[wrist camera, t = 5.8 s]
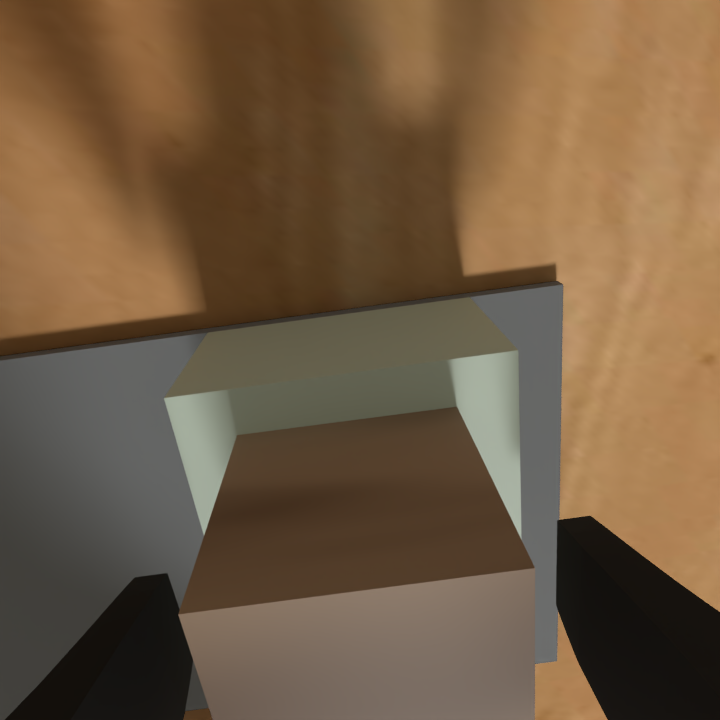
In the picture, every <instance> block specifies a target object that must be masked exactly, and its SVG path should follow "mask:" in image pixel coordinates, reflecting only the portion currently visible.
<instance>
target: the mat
mask: <svg viewBox="0 0 720 720" xmlns="http://www.w3.org/2000/svg"><path fill="white" fill-rule="evenodd" d="M467 297H470V298H471V299H472V300H473V301H474V303H475V304H476V305H477V306H478V307H479V308H480V309H481V310H482V311H483V312H484V313H485V314H486V316H487V317H488V318H489V319H490V320H491V321H492V322H493V323H494V324H495V325H496V326H497V327H498V329H499V330H500V331H501V332H502V333H503V334H504V335H505V336H506V337H507V338H508V339H509V341H510V342H511V343H512V344H513V345H514V346H515V347H516V348H517V349H518V357H519V418H520V478H521V539H522V542H523V544H524V546H525V548H526V550H527V552H528V554H529V556H530V558H531V560H532V563H533V565H534V567H535V664H538V663H546V662H553V661H557V627H558V609H557V606H556V564H557V520H559V505H560V444H561V383H562V321H563V284H561V283H560V282H558V281H554V282H546V283H539V284H532V285H524V286H517V287H509V288H502V289H495V290H487V291H480V292H472V293H465V294H458V295H450V296H443V297H435V298H428V299H421V300H413V301H406V302H398V303H391V304H384V305H376V306H369V307H361V308H354V309H347V310H339V311H332V312H324V313H317V314H310V315H302V316H295V317H288V318H280V319H273V320H265V321H258V322H251V323H243V324H236V325H228V326H221V327H214V328H206V329H199V330H191V331H184V332H177V333H169V334H162V335H154V336H147V337H140V338H132V339H125V340H117V341H110V342H103V343H95V344H88V345H80V346H73V347H66V348H58V349H51V350H43V351H36V352H29V353H21V354H14V355H7V356H0V720H5V719H6V718H7V717H8V716H9V715H10V714H11V713H12V712H13V711H14V710H15V709H16V708H17V706H18V705H19V704H20V703H21V702H22V701H23V700H24V699H25V698H26V697H27V696H28V695H29V694H30V693H31V692H32V691H33V690H34V689H35V688H36V687H37V686H38V685H39V684H40V682H41V681H42V680H43V679H44V678H45V677H46V676H47V675H48V674H49V673H50V671H51V670H52V669H53V668H54V667H55V666H56V665H57V664H58V663H59V661H60V660H61V659H62V658H63V657H64V656H65V655H66V654H67V653H68V651H69V650H70V649H71V648H72V647H73V646H74V645H75V644H76V643H77V641H78V640H79V639H80V638H81V637H82V636H83V635H84V634H85V632H86V631H87V630H88V629H89V628H90V627H91V626H92V625H93V623H94V622H95V621H96V620H97V619H98V618H99V617H100V615H101V614H102V613H103V612H104V611H105V610H106V609H107V607H108V606H109V605H110V604H111V603H112V602H113V601H114V599H115V598H116V597H117V596H118V595H119V594H120V593H121V592H122V590H123V589H124V588H125V587H126V586H127V585H128V584H129V583H130V582H131V581H132V580H133V579H134V578H135V577H141V576H148V575H156V574H163V573H168V576H169V579H170V582H171V585H172V588H173V591H174V594H175V597H176V600H177V603H178V606H179V609H180V608H181V605H182V602H183V598H184V595H185V592H186V589H187V586H188V583H189V580H190V577H191V574H192V571H193V568H194V565H195V562H196V559H197V556H198V553H199V550H200V547H201V544H202V541H203V538H204V534H203V531H202V527H201V524H200V520H199V517H198V514H197V510H196V507H195V503H194V500H193V496H192V493H191V490H190V486H189V483H188V479H187V476H186V472H185V469H184V465H183V462H182V459H181V455H180V452H179V448H178V445H177V441H176V438H175V435H174V431H173V428H172V424H171V421H170V417H169V414H168V411H167V407H166V404H165V400H164V397H165V396H166V394H167V393H168V391H169V390H170V388H171V387H172V385H173V384H174V382H175V381H176V379H177V378H178V376H179V375H180V373H181V372H182V370H183V369H184V367H185V366H186V364H187V363H188V361H189V360H190V358H191V357H192V355H193V354H194V352H195V351H196V349H197V348H198V346H199V345H200V343H201V342H202V340H203V339H204V337H205V336H206V334H207V333H209V332H216V331H223V330H231V329H238V328H246V327H253V326H260V325H268V324H275V323H282V322H290V321H297V320H305V319H312V318H319V317H327V316H334V315H342V314H349V313H356V312H364V311H371V310H378V309H386V308H393V307H401V306H408V305H415V304H423V303H430V302H437V301H445V300H452V299H460V298H467ZM205 708H209V707H208V704H207V701H206V698H205V695H204V692H203V688H202V685H201V682H200V679H199V676H198V673H197V670H196V667H195V664H194V661H193V665H192V672H191V679H190V685H189V691H188V697H187V703H186V708H185V711H190V710H197V709H205Z"/></svg>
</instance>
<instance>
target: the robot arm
mask: <svg viewBox="0 0 720 720" xmlns="http://www.w3.org/2000/svg"><path fill="white" fill-rule="evenodd" d="M556 606H557V609H558V612H559V614H560V617H561V620H562V622H563V625H564V627H565V630H566V633H567V635H568V638H569V640H570V643H571V645H572V648H573V650H574V653H575V655H576V658H577V660H578V663H579V665H580V667H581V669H582V671H583V673H584V675H585V676H586V678H587V680H588V682H589V684H590V686H591V688H592V690H593V692H594V694H595V696H596V698H597V700H598V702H599V704H600V706H601V708H602V710H603V711H604V713H605V715H606V717H607V719H608V720H720V612H719V611H717V610H716V609H715V608H713V607H712V606H710V605H709V604H707V603H706V602H704V601H703V600H702V599H700V598H699V597H697V596H696V595H695V594H693V593H692V592H691V591H689V590H688V589H686V588H685V587H684V586H682V585H681V584H679V583H678V582H677V581H675V580H674V579H673V578H671V577H670V576H669V575H667V574H666V573H665V572H663V571H662V570H660V569H659V568H658V567H656V566H655V565H654V564H653V563H651V562H650V561H649V560H647V559H646V558H645V557H643V556H642V555H641V554H639V553H638V552H637V551H635V550H634V549H633V548H632V547H630V546H629V545H628V544H626V543H625V542H624V541H622V540H621V539H620V538H619V537H617V536H616V535H615V534H613V533H612V532H611V531H610V530H608V529H607V528H606V527H604V526H603V525H602V524H600V523H599V522H598V521H596V520H595V519H594V518H592V517H591V516H585V517H578V518H570V519H563V520H557V564H556ZM179 611H180V609H179V606H178V603H177V600H176V597H175V594H174V591H173V588H172V585H171V582H170V579H169V576H168V573H163V574H156V575H148V576H141V577H135V578H134V579H133V580H132V581H131V582H130V583H129V584H128V585H127V586H126V587H125V588H124V589H123V590H122V592H121V593H120V594H119V595H118V596H117V597H116V598H115V599H114V601H113V602H112V603H111V604H110V605H109V606H108V607H107V609H106V610H105V611H104V612H103V613H102V614H101V615H100V617H99V618H98V619H97V620H96V621H95V622H94V623H93V625H92V626H91V627H90V628H89V629H88V630H87V631H86V632H85V634H84V635H83V636H82V637H81V638H80V639H79V640H78V641H77V643H76V644H75V645H74V646H73V647H72V648H71V649H70V650H69V651H68V653H67V654H66V655H65V656H64V657H63V658H62V659H61V660H60V661H59V663H58V664H57V665H56V666H55V667H54V668H53V669H52V670H51V671H50V673H49V674H48V675H47V676H46V677H45V678H44V679H43V680H42V681H41V682H40V684H39V685H38V686H37V687H36V688H35V689H34V690H33V691H32V692H31V693H30V694H29V695H28V696H27V697H26V698H25V699H24V700H23V701H22V702H21V703H20V704H19V705H18V706H17V708H16V709H15V710H14V711H13V712H12V713H11V714H10V715H9V716H8V717H7V718H6V719H5V720H183V718H184V714H185V708H186V703H187V697H188V691H189V685H190V679H191V672H192V665H193V658H192V655H191V652H190V649H189V646H188V643H187V640H186V637H185V634H184V631H183V628H182V624H181V621H180V618H179V615H178V614H179Z"/></svg>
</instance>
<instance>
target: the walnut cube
mask: <svg viewBox="0 0 720 720" xmlns="http://www.w3.org/2000/svg"><path fill="white" fill-rule="evenodd" d="M178 615H179V618H180V621H181V624H182V628H183V631H184V634H185V637H186V640H187V643H188V646H189V649H190V652H191V655H192V658H193V661H194V664H195V667H196V670H197V673H198V676H199V679H200V682H201V685H202V688H203V692H204V695H205V698H206V701H207V704H208V707H209V710H210V713H211V716H212V719H213V720H535V567H534V565H533V563H532V560H531V558H530V556H529V554H528V552H527V550H526V548H525V546H524V544H523V542H522V540H521V538H520V536H519V534H518V532H517V529H516V527H515V525H514V523H513V521H512V519H511V517H510V515H509V513H508V511H507V509H506V507H505V505H504V503H503V501H502V498H501V496H500V494H499V492H498V490H497V488H496V486H495V484H494V482H493V480H492V478H491V476H490V474H489V472H488V470H487V467H486V465H485V463H484V461H483V459H482V457H481V455H480V453H479V451H478V449H477V447H476V445H475V443H474V441H473V439H472V436H471V434H470V432H469V430H468V428H467V426H466V424H465V422H464V420H463V418H462V416H461V414H460V412H459V410H458V408H457V407H451V408H443V409H435V410H427V411H420V412H412V413H404V414H397V415H389V416H381V417H373V418H366V419H358V420H350V421H343V422H335V423H327V424H319V425H312V426H304V427H296V428H289V429H281V430H273V431H265V432H258V433H250V434H242V435H237V437H236V440H235V443H234V446H233V449H232V452H231V455H230V458H229V461H228V464H227V467H226V470H225V473H224V477H223V480H222V483H221V486H220V489H219V492H218V495H217V498H216V501H215V504H214V507H213V510H212V513H211V516H210V519H209V522H208V525H207V528H206V531H205V534H204V538H203V541H202V544H201V547H200V550H199V553H198V556H197V559H196V562H195V565H194V568H193V571H192V574H191V577H190V580H189V583H188V586H187V589H186V592H185V595H184V598H183V602H182V605H181V608H180V611H179V614H178Z"/></svg>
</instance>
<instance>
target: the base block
mask: <svg viewBox="0 0 720 720" xmlns="http://www.w3.org/2000/svg"><path fill="white" fill-rule="evenodd" d="M164 400H165V404H166V407H167V411H168V414H169V417H170V421H171V424H172V428H173V431H174V435H175V438H176V441H177V445H178V448H179V452H180V455H181V459H182V462H183V465H184V469H185V472H186V476H187V479H188V483H189V486H190V490H191V493H192V496H193V500H194V503H195V507H196V510H197V514H198V517H199V520H200V524H201V527H202V531H203V534H205V531H206V528H207V525H208V522H209V519H210V516H211V513H212V510H213V507H214V504H215V501H216V498H217V495H218V492H219V489H220V486H221V483H222V480H223V477H224V473H225V470H226V467H227V464H228V461H229V458H230V455H231V452H232V449H233V446H234V443H235V440H236V437H237V435H242V434H250V433H258V432H265V431H273V430H281V429H289V428H296V427H304V426H312V425H319V424H327V423H335V422H343V421H350V420H358V419H366V418H373V417H381V416H389V415H397V414H404V413H412V412H420V411H427V410H435V409H443V408H451V407H457V408H458V410H459V412H460V414H461V416H462V418H463V420H464V422H465V424H466V426H467V428H468V430H469V432H470V434H471V436H472V439H473V441H474V443H475V445H476V447H477V449H478V451H479V453H480V455H481V457H482V459H483V461H484V463H485V465H486V467H487V470H488V472H489V474H490V476H491V478H492V480H493V482H494V484H495V486H496V488H497V490H498V492H499V494H500V496H501V498H502V501H503V503H504V505H505V507H506V509H507V511H508V513H509V515H510V517H511V519H512V521H513V523H514V525H515V527H516V529H517V532H518V534H519V536H520V538H521V478H520V418H519V357H518V349H517V348H516V347H515V346H514V345H513V344H512V343H511V342H510V341H509V339H508V338H507V337H506V336H505V335H504V334H503V333H502V332H501V331H500V330H499V329H498V327H497V326H496V325H495V324H494V323H493V322H492V321H491V320H490V319H489V318H488V317H487V316H486V314H485V313H484V312H483V311H482V310H481V309H480V308H479V307H478V306H477V305H476V304H475V303H474V301H473V300H472V299H471V298H470V297H467V298H460V299H452V300H445V301H437V302H430V303H423V304H415V305H408V306H401V307H393V308H386V309H378V310H371V311H364V312H356V313H349V314H342V315H334V316H327V317H319V318H312V319H305V320H297V321H290V322H282V323H275V324H268V325H260V326H253V327H246V328H238V329H231V330H223V331H216V332H209V333H207V334H206V336H205V337H204V339H203V340H202V342H201V343H200V345H199V346H198V348H197V349H196V351H195V352H194V354H193V355H192V357H191V358H190V360H189V361H188V363H187V364H186V366H185V367H184V369H183V370H182V372H181V373H180V375H179V376H178V378H177V379H176V381H175V382H174V384H173V385H172V387H171V388H170V390H169V391H168V393H167V394H166V396H165V397H164ZM521 540H522V539H521Z"/></svg>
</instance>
